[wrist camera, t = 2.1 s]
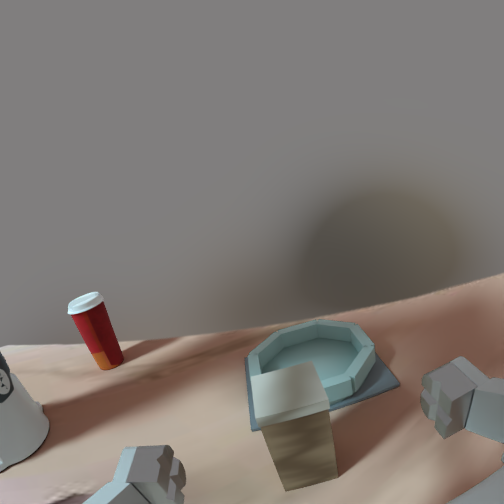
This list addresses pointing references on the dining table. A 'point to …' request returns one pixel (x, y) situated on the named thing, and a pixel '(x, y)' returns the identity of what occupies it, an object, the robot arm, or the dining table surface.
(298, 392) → the lidded brown carton
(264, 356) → the bowl
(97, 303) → the paper cup
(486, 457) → the dining table surface
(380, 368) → the place mat
